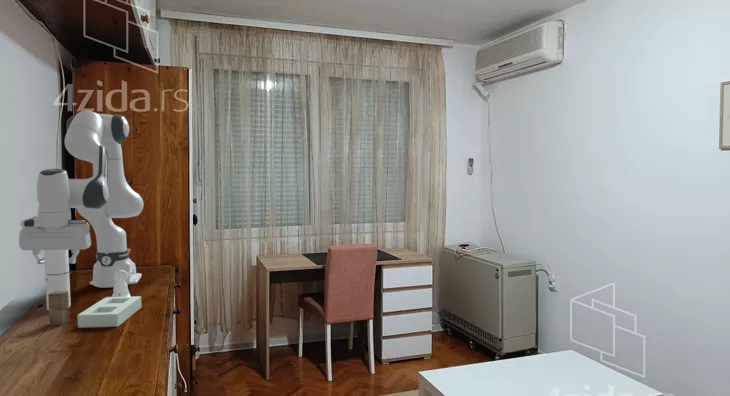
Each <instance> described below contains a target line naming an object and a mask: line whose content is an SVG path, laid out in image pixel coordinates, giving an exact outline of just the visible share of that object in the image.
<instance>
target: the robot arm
mask: <svg viewBox="0 0 730 396" xmlns="http://www.w3.org/2000/svg"><path fill="white" fill-rule="evenodd" d="M65 126H66V134H65V136H64V146H65V149H66V150H67V152H68V153H69V154H70V155H71V156H73V157H74V158H76V159H78V160H81V161H86V162H87V163H91V164H92V171H93V172H92V176H91V177H89V178H69V175H68V172H67V170H65V169H62V168H50V169H44V170H42V171H40V172H39V173H38V175H37V182H36V199H37V203H38V207H37V216H32V217H30V218H26V219H23V220H21V221H20V226H21V229H20V231H19V237H18V239H19V240H18V246H19V249H21V250H22V251H32V255H33V257H35V259H36V264H37V265H43V264H44V265H45V258H44V257H43V256H42V255H41V253H42V251H44V250H68V251H70V250H71V254H72V255H71V257H68V261H69V262H68V263H69V264H71V265H72V264H76V262H77V256H78V255H79V253H80V250H81V251H82V250H86V249H89V248H90V247H91V245H92V240H91V234H90V233H91V232H90V230H91V228H90V227H91V226H92V228H93V230H94V234H95V240H96V249H97V251H96V252H95V253H96V254H95V257H96V258H95V259H96V262H95V263H94V265H92V266H93V269H92V271H93V272H92V280H91V281H90V282H89V285H92V286H94V287H97V288H114V284H115V283H116V281H115V278H114V276H115V273H114V272H117V271H119V270H124V271H126V272H127V273H130V272H131V273H130V276H129V277H128V278H127V280H126V281H125V282H126V284H127V286H128V285H134V284H137V283H138V282H139V281H140V279H141V278H142V273H139V272H137V267H136V263H135V262H133V260H131V258H130V254H131V248H128V246H127V244H128V243H127V233H126V230H124V229H123V228H122V227H120V226H118V225H116V224H115V223H114V221H113V220H112V219H127V218H133V217H138V216H140V214H141V213H142V211H143V209H144V204H145V203H144V200H143V198H142V197H141V195H140V194H139V193H137V192H136V191H135V190H134V189H132V188H131V186H130V185H129V184H128V182H127V180H126V177H125V170H124V162H123V160H124V159H123V150H122V145H121V144H122V143H123V142H124V141H126V139H127V138H128V137H129V133H130V126H129V122H128V120H127V118H126V117H125V116H123V115H120V114H113V115H112V114H105V113H97V112H94V111H92V110H82V111H79V112H77V113H76V115H75V114H74V115H71V116H70V117H69V118H68V119H67V121H66V125H65ZM71 208H72V209H75V208H76V211H77V212H78V214H79V215H80V216H81V217H83V219H86V220H87V221H86V220H83V219H80V220H75V219H73V220H72V211H71ZM90 225H91V226H90Z"/></svg>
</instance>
